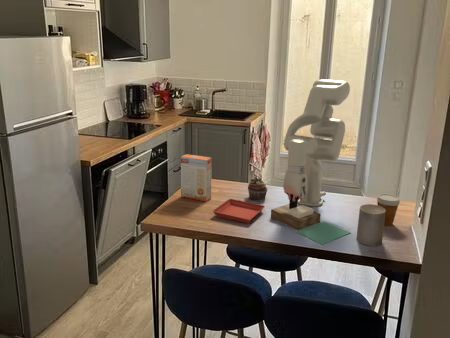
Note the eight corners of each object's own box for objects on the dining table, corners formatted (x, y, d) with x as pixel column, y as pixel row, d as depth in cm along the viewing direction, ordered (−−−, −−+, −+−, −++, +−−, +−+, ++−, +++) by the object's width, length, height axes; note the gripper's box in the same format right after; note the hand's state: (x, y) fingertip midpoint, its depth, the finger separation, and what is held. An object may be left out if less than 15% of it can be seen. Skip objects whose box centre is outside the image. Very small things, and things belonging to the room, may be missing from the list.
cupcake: (262, 202, 208) (263, 182, 205) (244, 199, 212) (245, 179, 209) (269, 196, 217) (270, 177, 214) (251, 193, 221) (252, 174, 218)
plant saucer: (265, 212, 198) (265, 205, 197) (249, 226, 182) (250, 219, 181) (229, 204, 205) (229, 198, 204) (211, 218, 190) (211, 211, 189)
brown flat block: (292, 210, 199) (293, 202, 198) (319, 222, 187) (320, 213, 186) (270, 217, 191) (271, 209, 190) (297, 230, 179) (298, 221, 178)
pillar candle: (374, 234, 177) (378, 200, 172) (386, 245, 167) (391, 209, 163) (351, 236, 175) (355, 201, 171) (363, 247, 166) (367, 210, 162)
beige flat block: (302, 209, 191) (303, 205, 190) (313, 213, 186) (313, 209, 185) (288, 213, 185) (288, 209, 185) (298, 218, 181) (299, 214, 180)
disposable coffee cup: (385, 229, 182) (389, 202, 179) (368, 220, 190) (372, 195, 187) (401, 225, 186) (405, 199, 183) (384, 217, 194) (388, 192, 191)
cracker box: (211, 198, 212) (212, 157, 206) (205, 202, 207) (206, 160, 201) (186, 193, 218) (186, 153, 212) (180, 197, 212) (180, 156, 206)
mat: (323, 221, 188) (323, 221, 188) (350, 233, 178) (350, 232, 178) (295, 231, 177) (295, 231, 177) (322, 244, 167) (322, 244, 167)
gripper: (315, 171, 180) (311, 212, 185) (289, 163, 191) (286, 201, 197) (303, 174, 176) (299, 216, 181) (277, 165, 187) (274, 205, 192)
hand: (292, 208), depth 189 cm, fingers closed
